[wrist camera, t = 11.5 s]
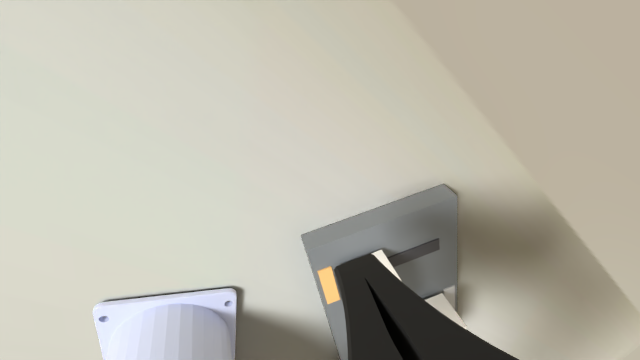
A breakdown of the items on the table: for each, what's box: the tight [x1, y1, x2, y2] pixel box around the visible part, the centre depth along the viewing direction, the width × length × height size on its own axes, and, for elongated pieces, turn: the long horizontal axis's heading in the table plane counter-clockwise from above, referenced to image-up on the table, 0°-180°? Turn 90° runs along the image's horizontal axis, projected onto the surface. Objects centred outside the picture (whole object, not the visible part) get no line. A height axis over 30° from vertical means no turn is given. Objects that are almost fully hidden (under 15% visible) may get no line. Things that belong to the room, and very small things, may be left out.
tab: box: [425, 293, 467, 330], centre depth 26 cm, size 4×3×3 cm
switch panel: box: [301, 184, 457, 360], centre depth 28 cm, size 20×10×2 cm, turn 12°
